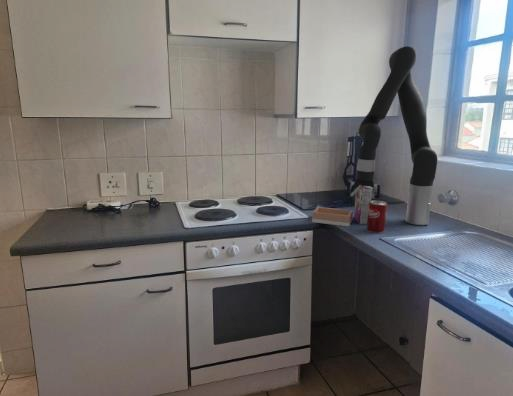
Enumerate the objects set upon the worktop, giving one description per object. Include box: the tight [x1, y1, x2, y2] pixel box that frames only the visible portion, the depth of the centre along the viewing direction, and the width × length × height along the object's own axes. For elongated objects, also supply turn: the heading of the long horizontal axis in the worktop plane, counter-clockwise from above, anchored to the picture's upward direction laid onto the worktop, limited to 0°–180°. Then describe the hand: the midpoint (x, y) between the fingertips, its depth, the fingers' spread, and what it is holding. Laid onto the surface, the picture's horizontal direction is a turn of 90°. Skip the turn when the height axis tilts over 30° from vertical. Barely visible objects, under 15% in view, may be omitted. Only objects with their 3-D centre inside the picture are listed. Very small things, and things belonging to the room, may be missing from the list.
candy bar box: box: [353, 185, 374, 225], centre depth 169 cm, size 11×5×16 cm, turn 179°
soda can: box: [366, 200, 388, 234], centre depth 156 cm, size 7×7×12 cm
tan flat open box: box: [311, 206, 354, 227], centre depth 169 cm, size 16×10×4 cm, turn 69°
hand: (361, 205), depth 170 cm, fingers open, 8 cm apart
